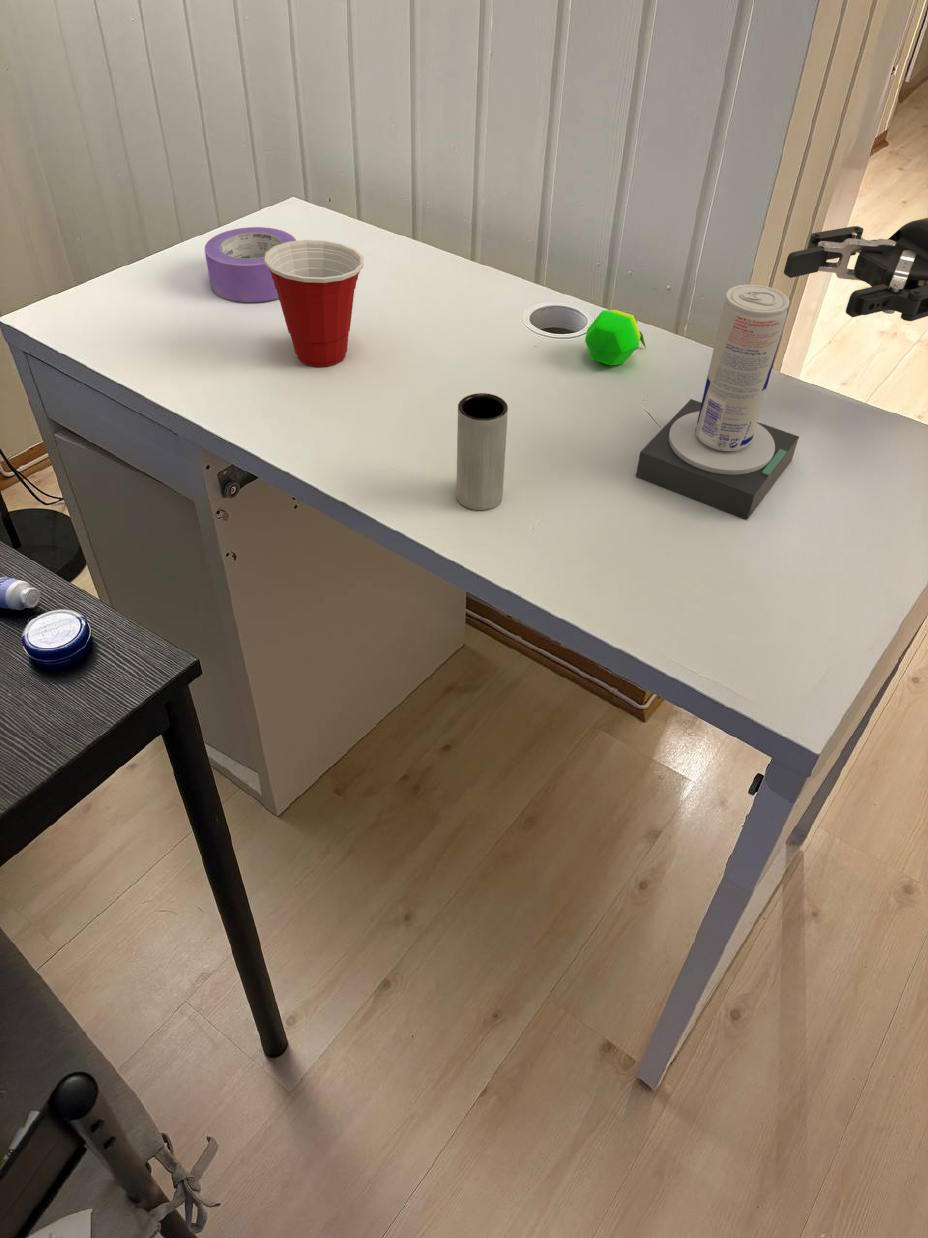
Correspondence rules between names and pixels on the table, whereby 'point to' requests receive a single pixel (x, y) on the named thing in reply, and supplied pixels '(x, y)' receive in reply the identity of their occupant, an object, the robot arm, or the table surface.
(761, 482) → the scale
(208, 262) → the tape roll
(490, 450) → the grey cylindrical tube
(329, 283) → the plastic cup
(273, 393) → the table surface
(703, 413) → the beverage can
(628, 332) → the apple
